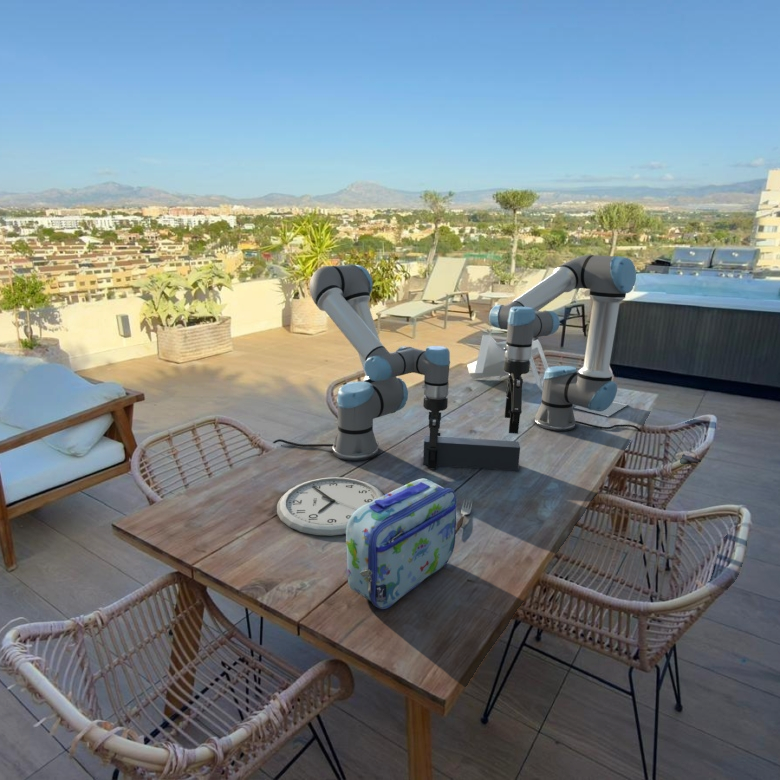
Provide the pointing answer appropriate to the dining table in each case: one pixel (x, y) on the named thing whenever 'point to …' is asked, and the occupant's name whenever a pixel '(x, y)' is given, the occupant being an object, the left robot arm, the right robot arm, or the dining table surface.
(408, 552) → the lunch box
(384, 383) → the left robot arm
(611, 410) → the invitation card
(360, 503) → the wall clock
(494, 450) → the beam
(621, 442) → the dining table surface
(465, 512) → the fork
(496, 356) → the white plastic object
